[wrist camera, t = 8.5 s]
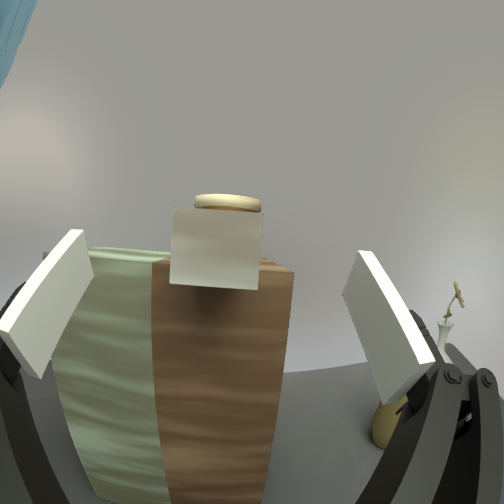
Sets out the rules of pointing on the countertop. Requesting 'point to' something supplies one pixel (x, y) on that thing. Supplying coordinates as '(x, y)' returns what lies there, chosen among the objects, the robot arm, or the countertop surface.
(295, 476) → the countertop surface
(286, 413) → the countertop surface
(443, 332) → the flower in vase
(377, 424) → the squeeze bottle
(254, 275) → the bobbin
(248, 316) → the stand
